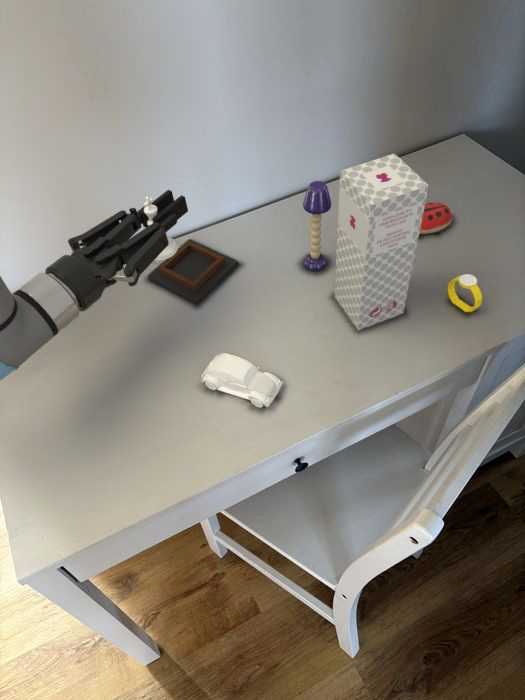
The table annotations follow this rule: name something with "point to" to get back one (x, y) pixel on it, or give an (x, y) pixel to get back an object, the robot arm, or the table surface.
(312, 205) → the toy lamp
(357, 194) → the box
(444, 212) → the ladybug figurine
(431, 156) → the table surface
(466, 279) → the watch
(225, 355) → the car
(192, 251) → the socket pad
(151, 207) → the chess piece
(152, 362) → the table surface
